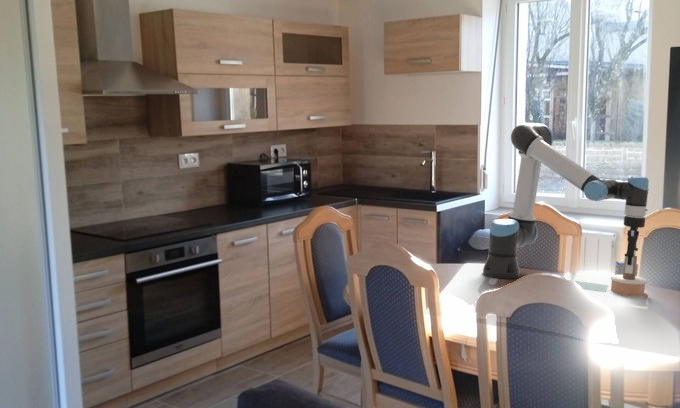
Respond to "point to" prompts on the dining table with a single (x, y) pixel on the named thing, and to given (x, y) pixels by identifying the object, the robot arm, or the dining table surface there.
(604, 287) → the trivet
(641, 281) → the lid
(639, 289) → the bowl
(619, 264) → the medicine box
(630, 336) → the dining table surface
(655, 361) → the dining table surface
